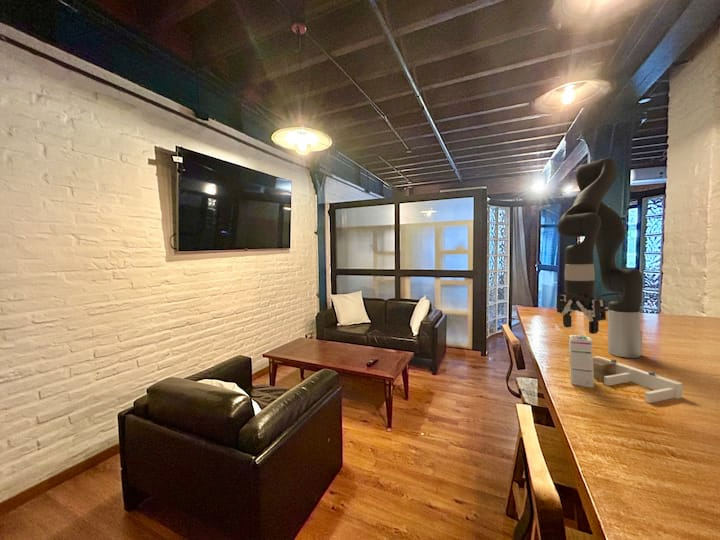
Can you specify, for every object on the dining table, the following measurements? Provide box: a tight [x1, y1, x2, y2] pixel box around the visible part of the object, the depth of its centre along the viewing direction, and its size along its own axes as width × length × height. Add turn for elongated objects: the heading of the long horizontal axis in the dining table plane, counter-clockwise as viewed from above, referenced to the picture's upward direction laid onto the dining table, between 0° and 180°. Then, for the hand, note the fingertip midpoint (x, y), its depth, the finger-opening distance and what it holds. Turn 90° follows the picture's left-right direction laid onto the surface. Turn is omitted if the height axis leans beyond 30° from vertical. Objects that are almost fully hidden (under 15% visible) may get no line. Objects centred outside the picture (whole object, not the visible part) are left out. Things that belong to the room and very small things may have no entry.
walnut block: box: [593, 357, 616, 382], centre depth 96 cm, size 6×6×5 cm
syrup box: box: [568, 334, 595, 389], centre depth 93 cm, size 6×6×14 cm
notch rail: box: [593, 355, 683, 404], centre depth 91 cm, size 11×23×5 cm, turn 12°
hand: (579, 330), depth 92 cm, fingers open, 8 cm apart
